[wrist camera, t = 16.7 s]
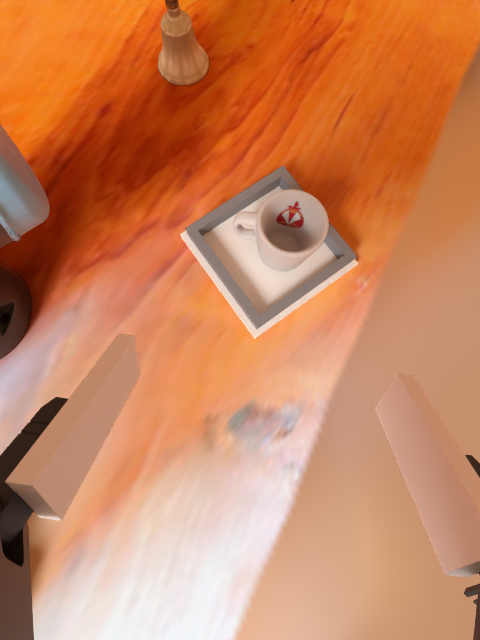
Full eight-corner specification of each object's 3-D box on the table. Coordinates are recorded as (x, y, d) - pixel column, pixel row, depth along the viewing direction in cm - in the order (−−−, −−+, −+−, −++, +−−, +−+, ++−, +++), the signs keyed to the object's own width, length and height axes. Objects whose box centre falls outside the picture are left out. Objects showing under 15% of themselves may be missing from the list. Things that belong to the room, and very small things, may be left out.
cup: (226, 266, 35) (223, 239, 27) (240, 214, 36) (241, 174, 28) (301, 285, 35) (321, 263, 27) (313, 232, 36) (335, 197, 28)
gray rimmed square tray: (181, 238, 37) (176, 226, 33) (280, 174, 38) (284, 158, 35) (254, 338, 35) (256, 336, 31) (354, 266, 36) (365, 258, 33)
